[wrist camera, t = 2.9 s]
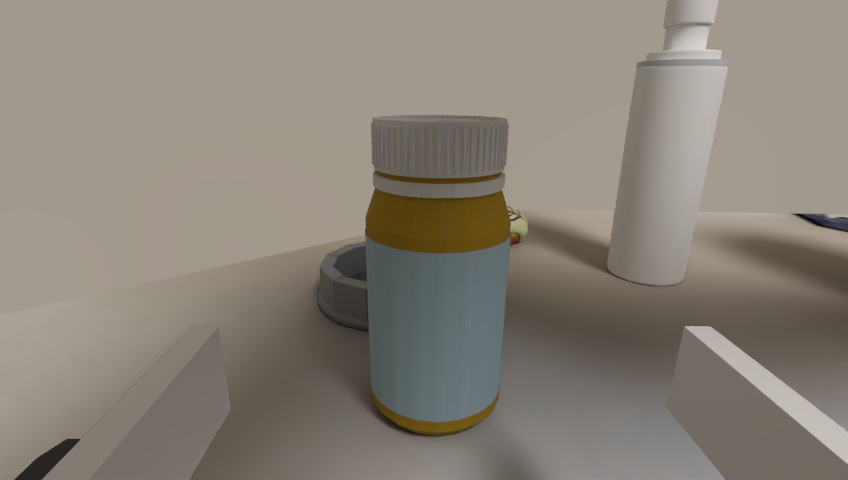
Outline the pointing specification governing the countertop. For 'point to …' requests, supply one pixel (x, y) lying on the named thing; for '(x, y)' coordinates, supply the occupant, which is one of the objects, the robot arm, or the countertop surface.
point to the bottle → (437, 269)
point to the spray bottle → (667, 149)
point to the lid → (345, 287)
